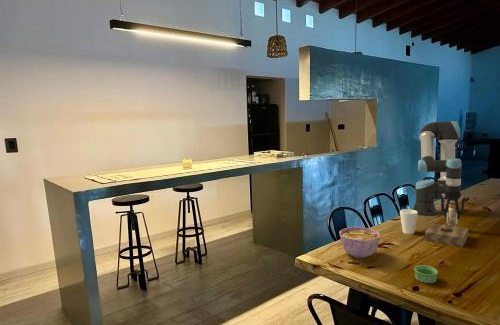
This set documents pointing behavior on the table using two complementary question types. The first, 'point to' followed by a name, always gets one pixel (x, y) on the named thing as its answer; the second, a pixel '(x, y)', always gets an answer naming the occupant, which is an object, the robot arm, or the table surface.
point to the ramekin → (425, 274)
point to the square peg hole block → (446, 235)
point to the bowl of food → (359, 241)
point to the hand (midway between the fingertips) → (452, 223)
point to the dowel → (452, 214)
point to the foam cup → (408, 220)
